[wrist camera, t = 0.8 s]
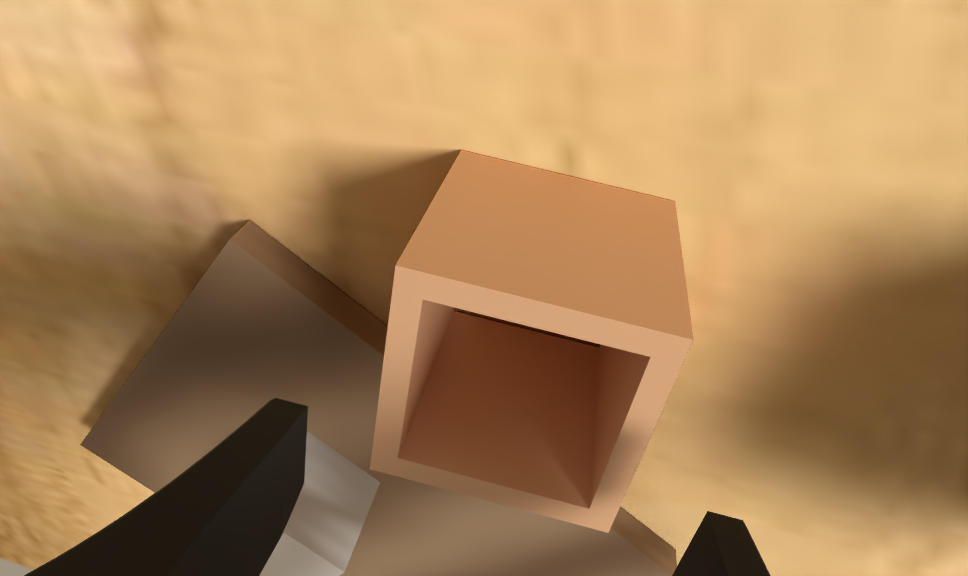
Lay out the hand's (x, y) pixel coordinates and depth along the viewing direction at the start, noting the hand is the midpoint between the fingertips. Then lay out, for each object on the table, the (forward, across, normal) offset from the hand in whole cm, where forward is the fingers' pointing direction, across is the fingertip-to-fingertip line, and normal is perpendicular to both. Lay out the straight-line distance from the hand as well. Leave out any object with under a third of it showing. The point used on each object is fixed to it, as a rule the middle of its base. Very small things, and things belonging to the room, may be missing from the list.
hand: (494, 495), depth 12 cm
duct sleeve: (+8, 0, 0) cm, 8 cm away
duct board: (+8, +4, +10) cm, 14 cm away
